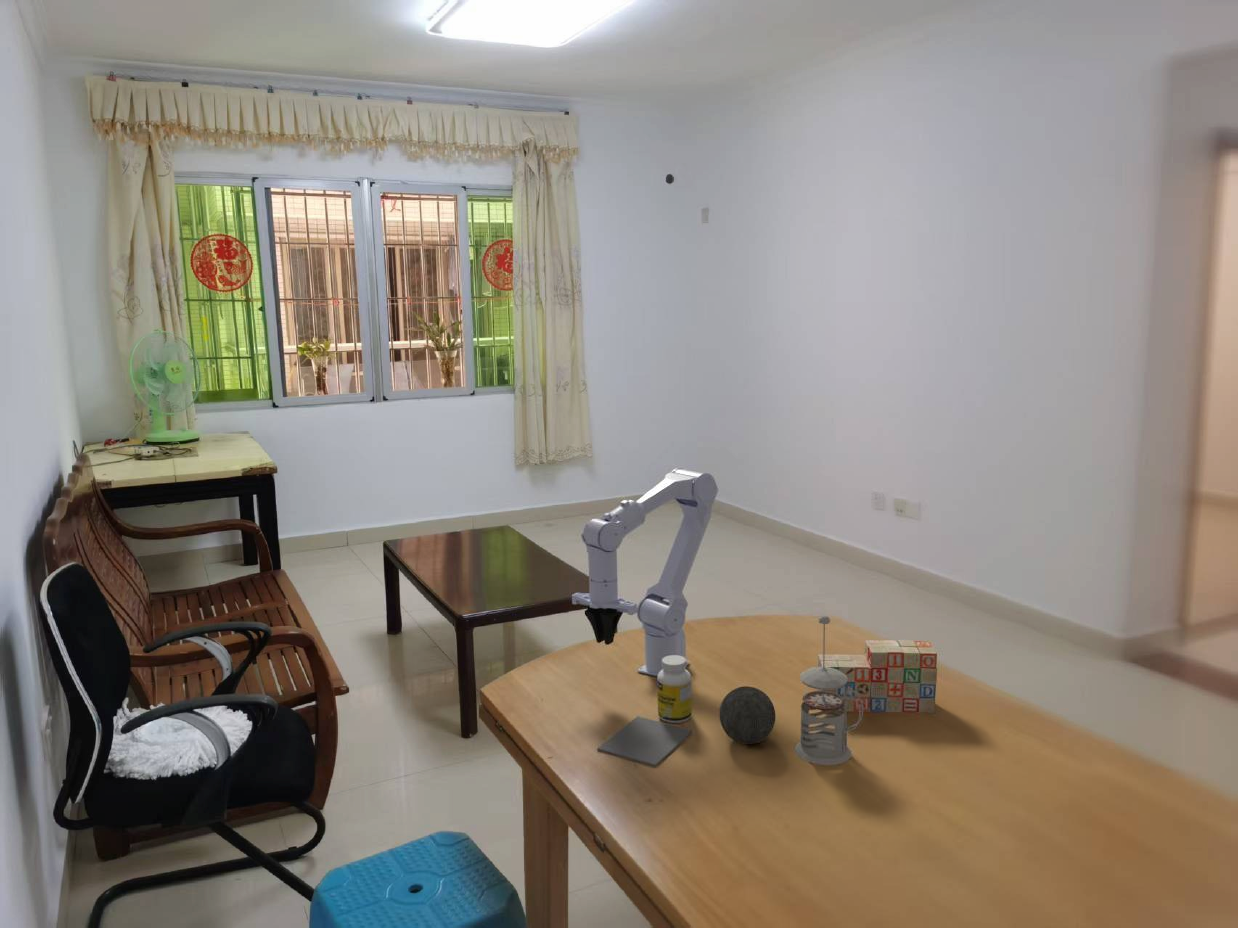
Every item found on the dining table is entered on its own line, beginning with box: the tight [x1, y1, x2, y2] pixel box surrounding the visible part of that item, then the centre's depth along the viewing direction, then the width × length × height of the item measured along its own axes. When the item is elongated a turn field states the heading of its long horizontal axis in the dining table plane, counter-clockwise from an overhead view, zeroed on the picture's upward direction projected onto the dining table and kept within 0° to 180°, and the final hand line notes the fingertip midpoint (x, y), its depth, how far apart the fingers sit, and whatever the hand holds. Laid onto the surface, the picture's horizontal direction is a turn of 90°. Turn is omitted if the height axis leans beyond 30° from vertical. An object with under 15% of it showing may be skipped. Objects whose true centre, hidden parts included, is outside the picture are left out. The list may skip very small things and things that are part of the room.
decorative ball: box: [718, 685, 776, 745], centre depth 160 cm, size 10×10×10 cm
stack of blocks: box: [817, 639, 938, 714], centre depth 172 cm, size 21×6×12 cm, turn 84°
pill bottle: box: [656, 655, 693, 724], centre depth 170 cm, size 6×6×12 cm
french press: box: [794, 615, 864, 766], centre depth 154 cm, size 10×12×25 cm
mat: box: [596, 715, 694, 768], centre depth 162 cm, size 14×12×1 cm
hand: (605, 642), depth 182 cm, fingers closed
